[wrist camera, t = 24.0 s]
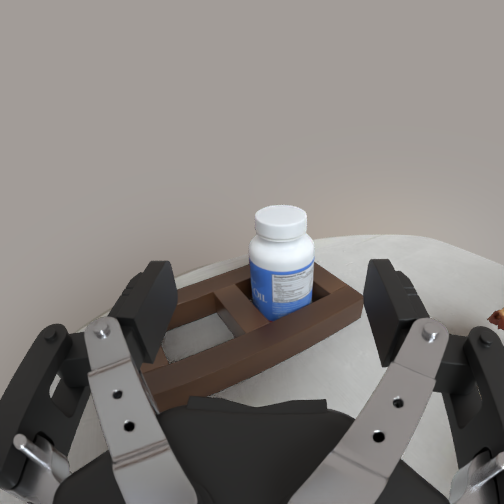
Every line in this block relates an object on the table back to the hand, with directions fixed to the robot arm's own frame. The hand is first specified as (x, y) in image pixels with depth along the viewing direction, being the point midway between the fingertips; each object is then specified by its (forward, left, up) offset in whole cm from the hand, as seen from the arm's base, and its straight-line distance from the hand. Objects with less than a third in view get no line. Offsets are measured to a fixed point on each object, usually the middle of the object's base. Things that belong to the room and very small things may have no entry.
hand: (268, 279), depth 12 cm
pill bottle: (+7, +9, -12) cm, 17 cm away
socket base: (+3, +10, -12) cm, 15 cm away
